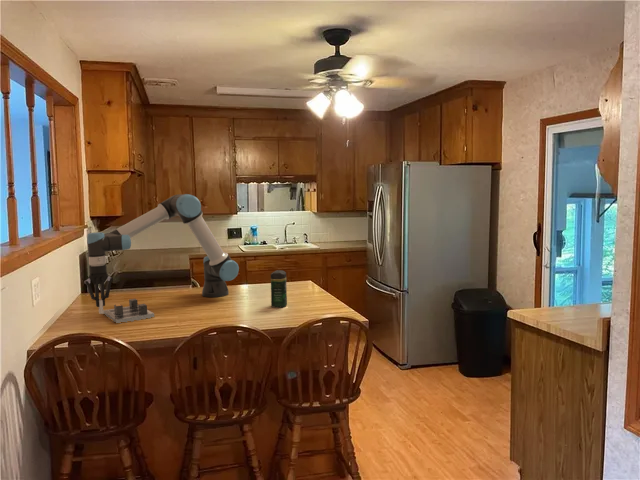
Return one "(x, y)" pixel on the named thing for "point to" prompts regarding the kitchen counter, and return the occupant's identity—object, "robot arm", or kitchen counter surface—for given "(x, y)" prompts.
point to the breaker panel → (130, 312)
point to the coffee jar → (278, 289)
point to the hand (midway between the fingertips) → (101, 313)
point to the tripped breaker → (118, 309)
